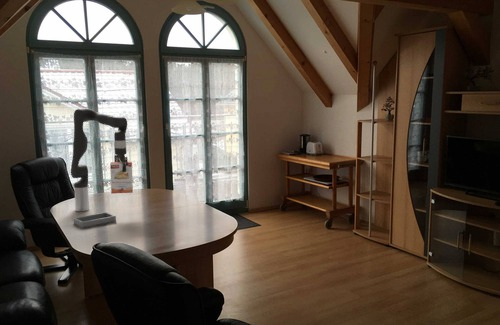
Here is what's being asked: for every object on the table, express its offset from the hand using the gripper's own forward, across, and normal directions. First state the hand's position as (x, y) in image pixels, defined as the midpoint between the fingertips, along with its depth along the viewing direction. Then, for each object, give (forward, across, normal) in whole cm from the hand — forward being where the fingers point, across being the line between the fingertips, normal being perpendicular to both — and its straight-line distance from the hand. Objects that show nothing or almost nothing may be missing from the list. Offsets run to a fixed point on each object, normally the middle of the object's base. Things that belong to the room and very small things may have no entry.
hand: (121, 171), depth 279 cm
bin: (+32, 0, -20) cm, 38 cm away
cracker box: (+15, 0, 0) cm, 15 cm away
